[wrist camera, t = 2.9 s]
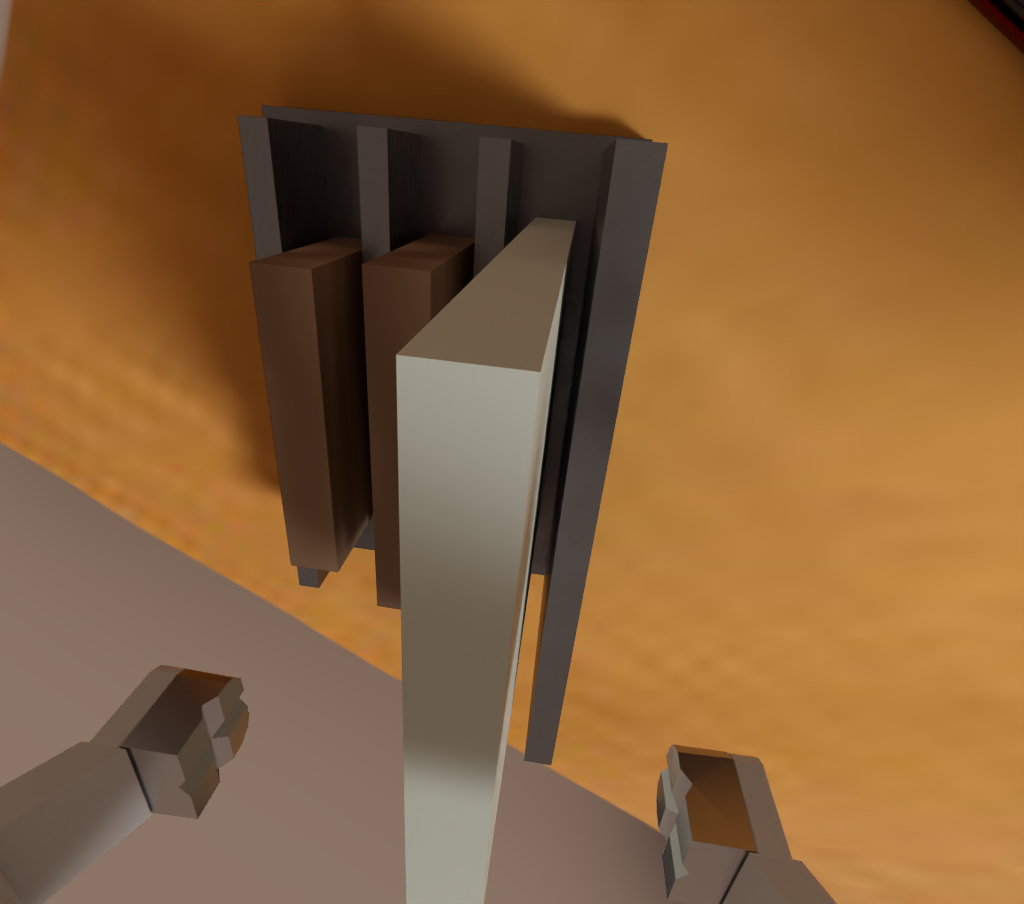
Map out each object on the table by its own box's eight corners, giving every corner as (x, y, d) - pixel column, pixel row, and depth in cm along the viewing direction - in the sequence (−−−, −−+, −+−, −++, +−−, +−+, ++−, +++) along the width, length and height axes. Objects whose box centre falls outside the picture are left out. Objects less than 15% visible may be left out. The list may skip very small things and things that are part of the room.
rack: (648, 141, 21) (710, 116, 10) (575, 562, 31) (568, 776, 20) (280, 108, 23) (-12, 55, 12) (322, 525, 32) (185, 710, 21)
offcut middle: (480, 238, 22) (430, 271, 15) (466, 503, 29) (426, 613, 22) (432, 233, 23) (361, 264, 16) (429, 498, 29) (377, 606, 22)
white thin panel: (576, 221, 22) (540, 372, 6) (537, 529, 29) (473, 972, 13) (536, 217, 22) (396, 355, 6) (507, 524, 29) (407, 959, 13)
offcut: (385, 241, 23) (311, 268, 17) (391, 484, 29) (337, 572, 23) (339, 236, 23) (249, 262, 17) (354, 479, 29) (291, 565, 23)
